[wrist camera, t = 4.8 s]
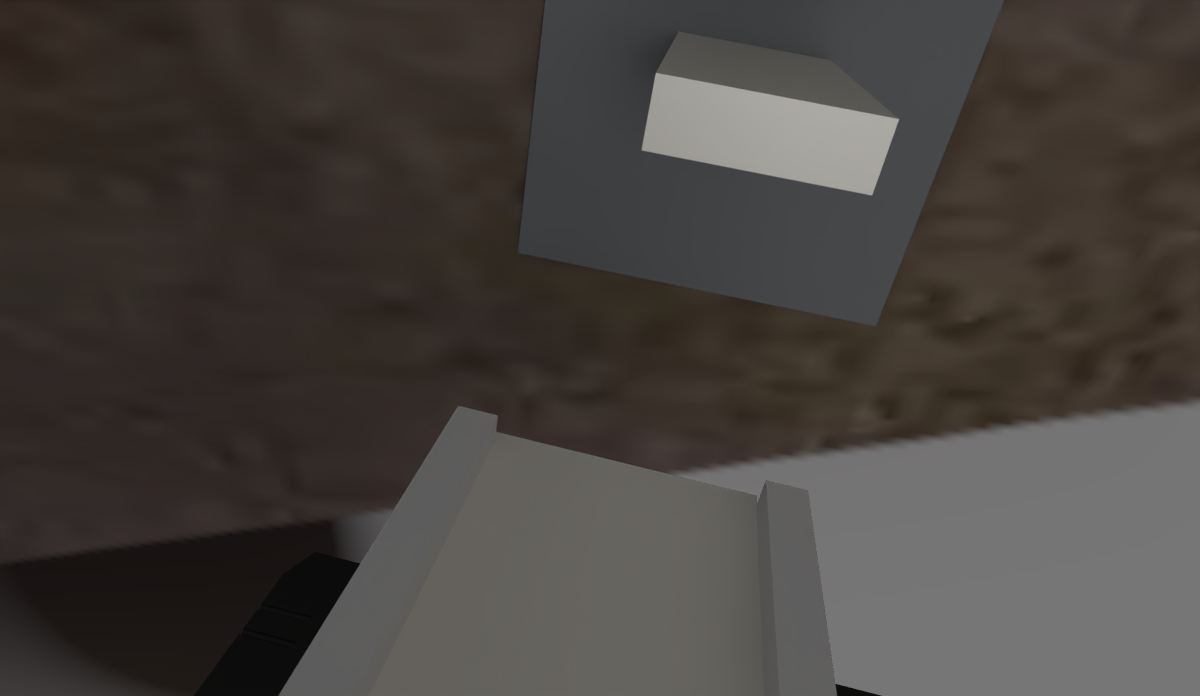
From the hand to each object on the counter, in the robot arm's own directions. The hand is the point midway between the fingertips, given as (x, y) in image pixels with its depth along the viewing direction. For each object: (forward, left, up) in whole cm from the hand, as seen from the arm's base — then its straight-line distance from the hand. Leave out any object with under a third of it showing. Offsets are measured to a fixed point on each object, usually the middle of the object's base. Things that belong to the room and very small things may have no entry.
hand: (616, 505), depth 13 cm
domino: (+2, +6, -15) cm, 16 cm away
